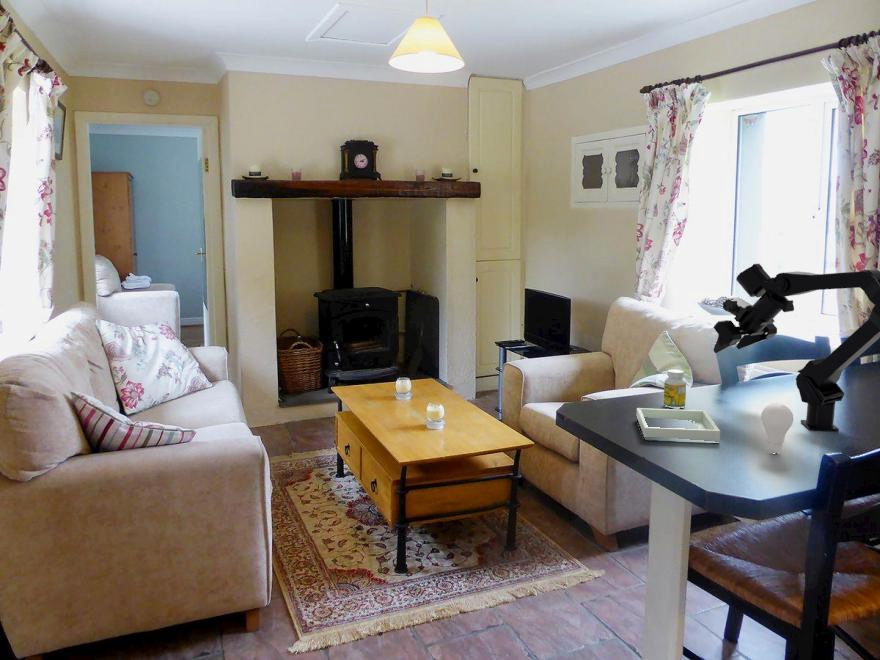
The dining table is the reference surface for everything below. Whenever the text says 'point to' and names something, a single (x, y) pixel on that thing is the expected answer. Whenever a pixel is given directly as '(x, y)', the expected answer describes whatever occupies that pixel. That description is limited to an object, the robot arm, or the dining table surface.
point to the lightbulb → (776, 425)
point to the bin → (699, 416)
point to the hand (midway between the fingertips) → (726, 349)
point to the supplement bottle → (675, 389)
